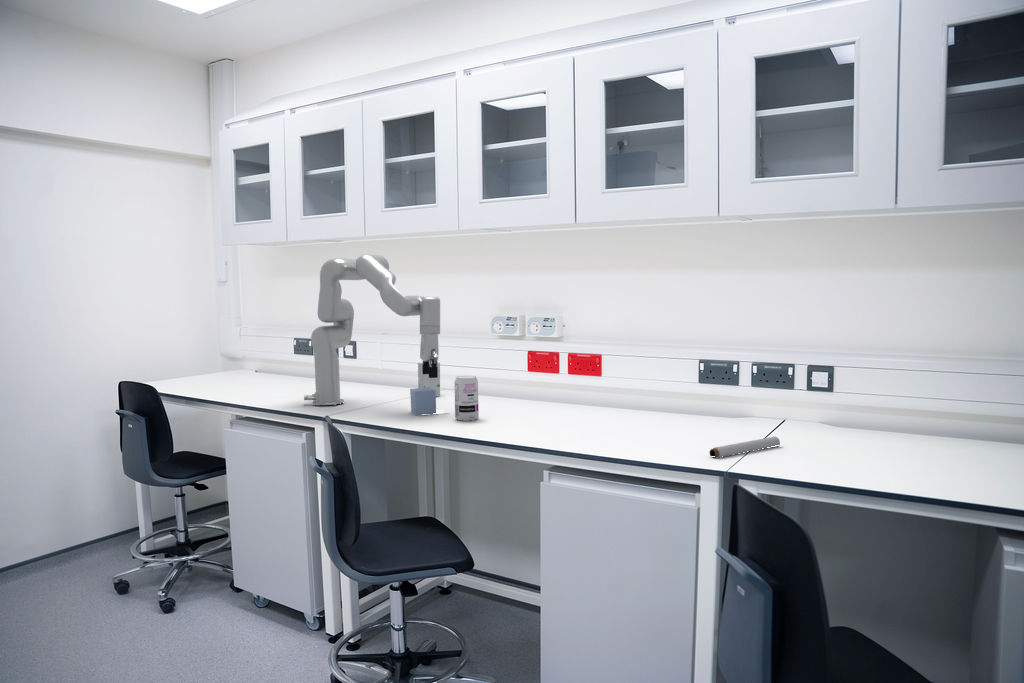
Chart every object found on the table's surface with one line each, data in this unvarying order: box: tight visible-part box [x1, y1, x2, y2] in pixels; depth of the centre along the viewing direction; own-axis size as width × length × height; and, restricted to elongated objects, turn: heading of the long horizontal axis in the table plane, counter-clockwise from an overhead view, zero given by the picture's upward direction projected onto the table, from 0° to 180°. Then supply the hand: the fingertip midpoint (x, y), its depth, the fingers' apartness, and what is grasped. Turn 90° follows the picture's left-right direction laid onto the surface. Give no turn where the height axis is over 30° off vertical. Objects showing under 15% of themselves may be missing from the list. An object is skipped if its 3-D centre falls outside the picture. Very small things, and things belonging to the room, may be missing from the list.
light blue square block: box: [409, 387, 437, 416], centre depth 245 cm, size 8×8×9 cm
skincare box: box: [417, 361, 441, 397], centre depth 283 cm, size 8×6×15 cm
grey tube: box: [709, 436, 781, 458], centre depth 182 cm, size 3×3×25 cm
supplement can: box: [454, 375, 479, 422], centre depth 232 cm, size 8×8×15 cm
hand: (429, 375), depth 246 cm, fingers open, 9 cm apart
